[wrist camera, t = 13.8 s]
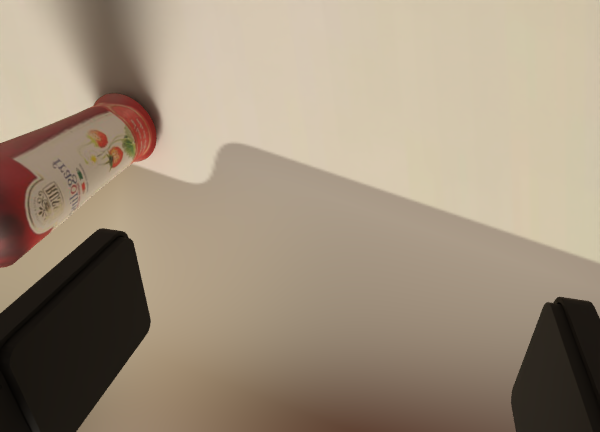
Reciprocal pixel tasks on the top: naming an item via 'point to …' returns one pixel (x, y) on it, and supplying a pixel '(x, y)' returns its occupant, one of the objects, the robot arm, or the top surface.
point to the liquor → (66, 168)
